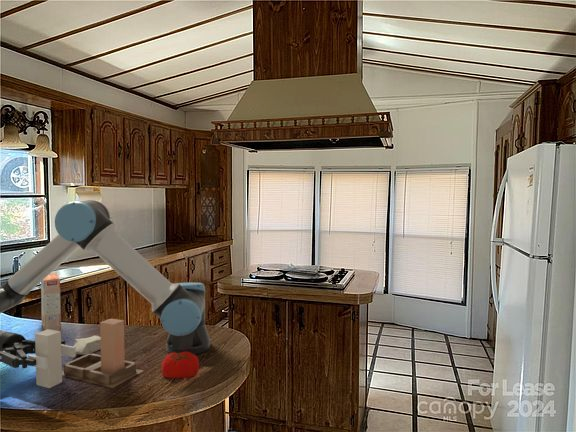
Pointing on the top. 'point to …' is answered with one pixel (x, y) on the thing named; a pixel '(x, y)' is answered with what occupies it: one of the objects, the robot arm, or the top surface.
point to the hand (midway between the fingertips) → (60, 357)
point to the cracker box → (51, 302)
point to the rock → (87, 345)
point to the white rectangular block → (49, 357)
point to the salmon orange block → (112, 345)
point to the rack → (98, 371)
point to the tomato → (180, 365)
